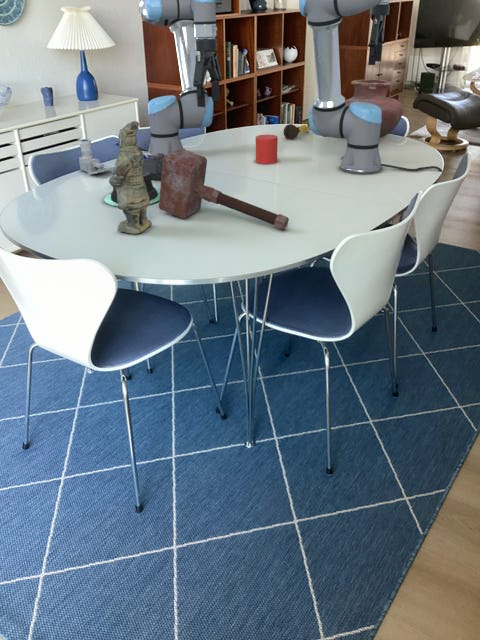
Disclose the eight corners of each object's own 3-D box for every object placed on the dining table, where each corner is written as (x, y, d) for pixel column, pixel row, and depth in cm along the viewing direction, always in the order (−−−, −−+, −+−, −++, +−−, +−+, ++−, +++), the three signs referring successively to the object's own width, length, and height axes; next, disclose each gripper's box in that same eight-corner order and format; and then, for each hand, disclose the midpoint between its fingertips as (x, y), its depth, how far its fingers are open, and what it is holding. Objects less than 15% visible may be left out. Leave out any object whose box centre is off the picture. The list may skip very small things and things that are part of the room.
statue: (131, 220, 168) (117, 116, 152) (158, 224, 164) (147, 118, 149) (109, 233, 159) (93, 124, 144) (138, 237, 156) (124, 126, 140)
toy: (139, 150, 209) (172, 153, 203) (141, 172, 213) (174, 177, 207) (125, 155, 202) (159, 159, 196) (128, 178, 206) (161, 183, 200)
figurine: (325, 121, 268) (300, 123, 249) (324, 137, 271) (299, 140, 252) (301, 118, 274) (275, 120, 255) (300, 134, 277) (274, 137, 258)
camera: (89, 136, 215) (112, 142, 207) (93, 167, 222) (116, 174, 213) (70, 140, 210) (93, 147, 201) (75, 171, 216) (97, 179, 207)
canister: (274, 158, 229) (275, 134, 224) (279, 163, 221) (279, 138, 216) (254, 159, 228) (253, 135, 223) (257, 164, 220) (257, 139, 215)
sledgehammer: (299, 190, 156) (179, 147, 167) (285, 200, 148) (161, 154, 160) (286, 244, 166) (174, 200, 177) (272, 256, 158) (156, 209, 170)
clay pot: (397, 133, 263) (404, 75, 251) (402, 148, 238) (410, 85, 225) (333, 131, 268) (336, 75, 256) (330, 146, 243) (334, 85, 230)
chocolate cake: (91, 202, 180) (113, 186, 197) (142, 231, 182) (160, 212, 199) (107, 162, 172) (129, 148, 190) (160, 192, 174) (177, 176, 192)
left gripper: (201, 40, 179) (204, 109, 190) (229, 36, 200) (230, 98, 210) (180, 40, 182) (185, 109, 192) (209, 36, 202) (212, 98, 213)
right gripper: (376, 3, 229) (370, 59, 240) (364, 4, 209) (359, 66, 220) (394, 3, 226) (388, 60, 237) (384, 4, 207) (378, 66, 217)
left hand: (208, 103), depth 201 cm, fingers open, 13 cm apart
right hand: (374, 63), depth 229 cm, fingers open, 13 cm apart
